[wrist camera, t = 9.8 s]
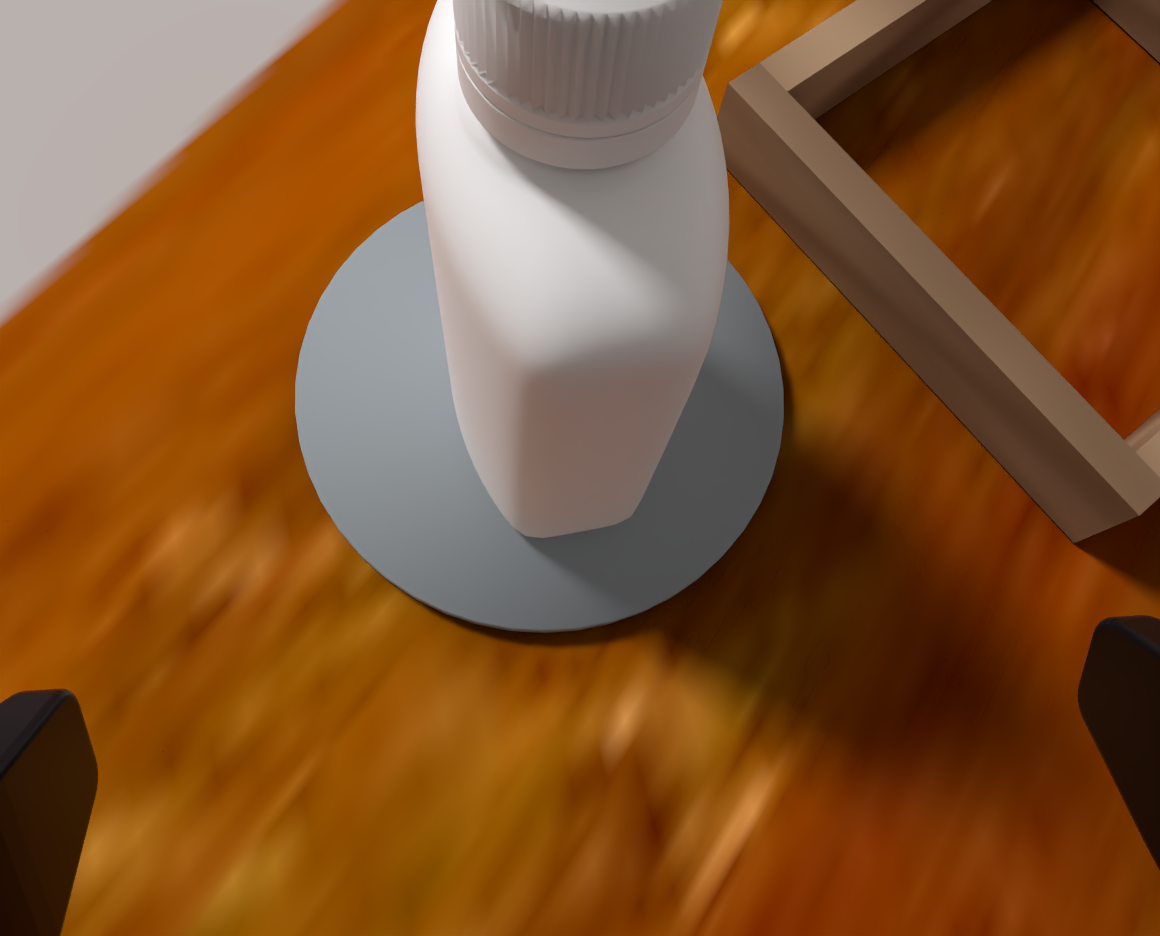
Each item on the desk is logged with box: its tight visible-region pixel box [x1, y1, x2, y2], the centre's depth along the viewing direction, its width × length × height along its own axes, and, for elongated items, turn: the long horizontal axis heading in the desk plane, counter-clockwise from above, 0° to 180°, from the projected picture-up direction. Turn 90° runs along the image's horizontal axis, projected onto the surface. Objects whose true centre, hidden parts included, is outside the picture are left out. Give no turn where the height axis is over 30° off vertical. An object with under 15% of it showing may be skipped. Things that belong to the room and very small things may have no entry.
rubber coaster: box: [295, 201, 784, 633], centre depth 18 cm, size 9×9×1 cm
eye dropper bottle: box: [416, 0, 729, 538], centre depth 12 cm, size 4×6×12 cm
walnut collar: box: [717, 0, 1160, 543], centre depth 20 cm, size 11×11×2 cm
